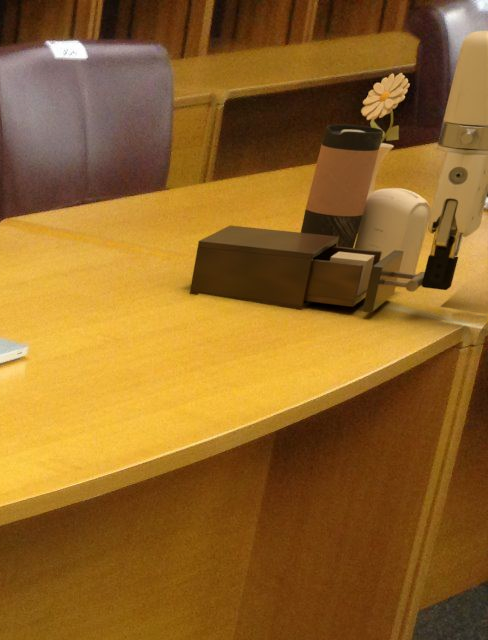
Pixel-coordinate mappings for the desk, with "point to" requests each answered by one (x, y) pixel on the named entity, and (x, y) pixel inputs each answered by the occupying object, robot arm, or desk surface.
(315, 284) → the drawer
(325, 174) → the travel mug
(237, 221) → the desk surface
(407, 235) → the photo printer
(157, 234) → the desk surface
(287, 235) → the cabinet
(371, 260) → the block
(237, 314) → the desk surface
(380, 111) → the flower in vase
